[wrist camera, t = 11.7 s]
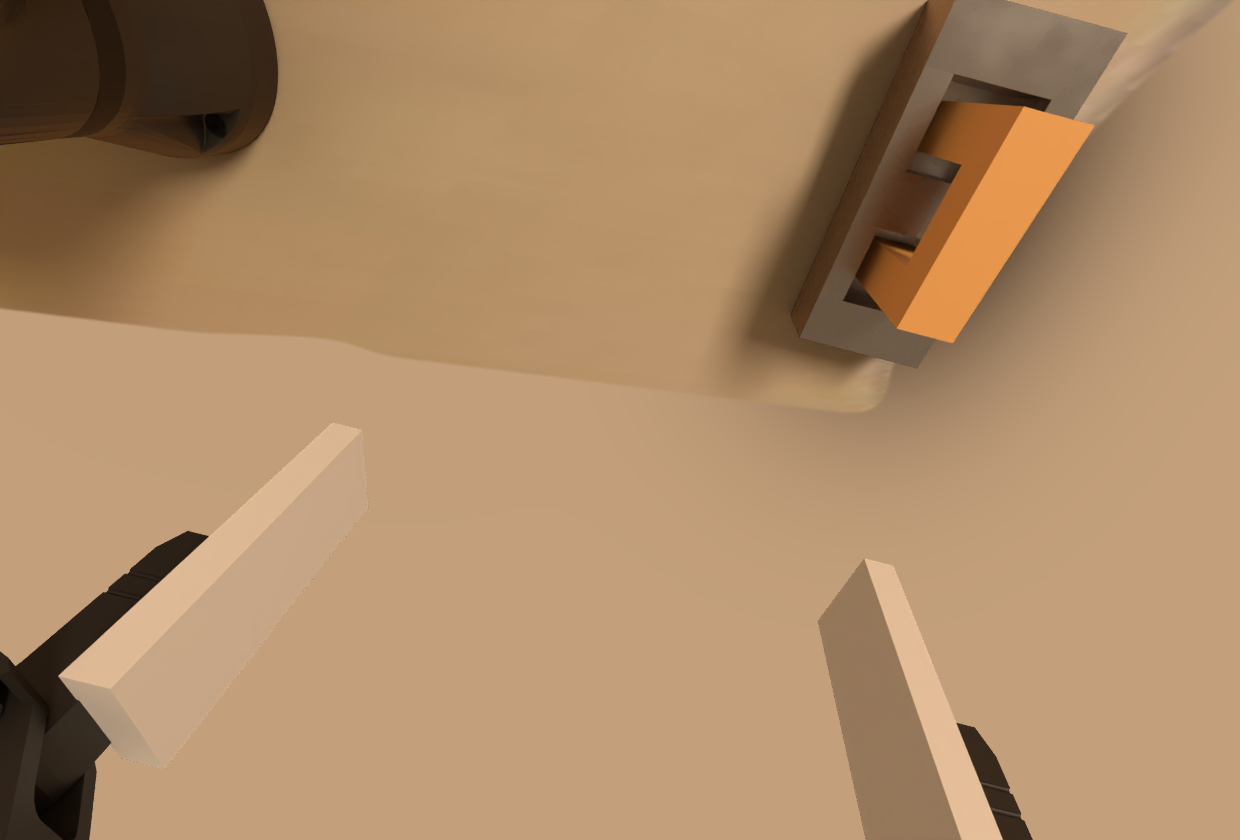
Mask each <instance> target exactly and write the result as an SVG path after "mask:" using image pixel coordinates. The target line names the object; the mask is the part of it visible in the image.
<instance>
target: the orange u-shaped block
mask: <svg viewBox="0 0 1240 840" xmlns="http://www.w3.org/2000/svg"><path fill="white" fill-rule="evenodd" d="M1094 126H1095V125H1091V124H1087V123H1084V122H1080V121H1076V120H1072V119H1069V118H1065V117H1061V116H1057V115H1054V114H1050V113H1046V112H1042V111H1039V110H1035V109H1031V108H1028V107H1024V106H1010V105H996V104H982V103H969V102H955V101H941V102H940V104H939V106H938V108H937V110H936V112H935V114H934V116H933V118H932V120H931V122H930V124H929V126H928V128H927V130H926V132H925V134H924V137H923V139H922V141H921V143H920V145H919V147H918V149H917V151H919V152H922V153H925V154H928V155H932V156H935V157H938V158H941V159H944V160H948V161H951V162H954V163H957V164H960V165H961V167H960V169H959V171H958V173H957V174H956V176H955V178H954V180H953V182H952V184H951V185H950V187H949V189H948V191H947V193H946V195H945V196H944V198H943V200H942V202H941V204H940V206H939V207H938V209H937V211H936V213H935V215H934V217H933V218H932V220H931V222H930V224H929V226H928V228H927V230H926V231H925V233H924V235H923V237H922V239H921V241H920V242H919V244H918V246H917V248H916V247H915V246H911V245H907V244H903V243H900V242H896V241H892V240H888V239H884V238H881V237H877V236H874V238H873V240H872V242H871V244H870V246H869V249H868V251H867V253H866V255H865V257H864V259H863V261H862V263H861V265H860V267H859V269H858V271H857V273H856V275H855V277H856V278H857V280H858V281H859V282H860V283H861V285H862V286H863V287H864V288H865V290H866V291H867V292H868V293H869V295H870V296H871V297H872V298H873V300H874V301H875V302H876V303H877V305H878V306H879V307H880V308H881V310H882V311H883V312H884V313H885V315H886V316H887V317H888V318H889V320H890V321H891V322H892V323H893V325H894V326H895V327H896V328H897V329H900V330H904V331H908V332H912V333H915V334H919V335H923V336H927V337H931V338H935V339H939V340H943V341H946V342H950V343H953V342H954V340H955V339H956V337H957V336H958V334H959V332H960V331H961V330H962V328H963V326H964V325H965V323H966V322H967V320H968V319H969V317H970V316H971V314H972V313H973V311H974V310H975V308H976V307H977V305H978V303H979V302H980V301H981V299H982V297H983V296H984V294H985V293H986V291H987V290H988V288H989V287H990V285H991V284H992V282H993V281H994V279H995V277H996V276H997V274H998V273H999V271H1000V270H1001V268H1002V267H1003V265H1004V264H1005V262H1006V261H1007V259H1008V258H1009V256H1010V255H1011V253H1012V251H1013V250H1014V248H1015V247H1016V245H1017V244H1018V242H1019V241H1020V239H1021V238H1022V236H1023V234H1024V233H1025V231H1026V230H1027V228H1028V227H1029V225H1030V224H1031V222H1032V221H1033V219H1034V218H1035V216H1036V215H1037V213H1038V212H1039V210H1040V209H1041V207H1042V206H1043V204H1044V202H1045V201H1046V199H1047V198H1048V196H1049V195H1050V193H1051V192H1052V190H1053V189H1054V187H1055V186H1056V184H1057V182H1058V181H1059V179H1060V178H1061V176H1062V175H1063V173H1064V172H1065V170H1066V169H1067V167H1068V165H1069V164H1070V163H1071V161H1072V159H1073V158H1074V156H1075V155H1076V153H1077V152H1078V150H1079V149H1080V147H1081V146H1082V144H1083V143H1084V141H1085V140H1086V138H1087V137H1088V135H1089V133H1090V132H1091V130H1092V129H1093V127H1094Z"/></svg>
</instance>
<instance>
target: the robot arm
mask: <svg viewBox="0 0 1240 840" xmlns="http://www.w3.org/2000/svg"><path fill="white" fill-rule="evenodd" d="M277 77H278V69H277V55H276V47H275V41H274V36H273V31H272V27H271V23H270V20H269V16H268V13H267V10H266V7H265V4H264V1H263V0H0V145H4V144H14V143H24V142H33V141H43V140H52V139H60V138H72V137H88V138H93V139H97V140H101V141H105V142H109V143H114V144H118V145H122V146H126V147H131V148H135V149H139V150H143V151H147V152H152V153H156V154H160V155H164V156H169V157H176V158H201V157H208V156H215V155H222V154H227V153H231V152H234V151H237V150H239V149H241V148H243V147H245V146H246V145H248V144H249V143H250V142H252V141H253V140H254V139H255V138H256V137H257V136H258V135H259V134H260V132H261V131H262V130H263V128H264V126H265V125H266V123H267V121H268V119H269V117H270V115H271V112H272V109H273V105H274V101H275V97H276V91H277ZM368 508H369V504H368V493H367V481H366V470H365V458H364V447H363V436H362V430H359V429H355V428H351V427H348V426H343V425H340V424H336V423H331V425H329V426H328V427H327V428H326V429H325V430H324V431H323V432H322V433H321V434H319V435H318V436H317V437H316V438H315V439H314V440H313V441H312V442H311V443H310V444H309V445H308V446H307V447H306V448H304V449H303V450H302V451H301V452H300V453H299V454H298V455H297V456H296V457H295V458H294V459H292V460H291V461H290V462H289V463H288V464H287V465H286V466H285V467H284V468H283V469H282V470H281V471H280V472H279V473H277V474H276V475H275V476H274V477H273V478H272V479H271V480H270V481H269V482H268V483H266V484H265V485H264V486H263V487H262V488H261V489H260V490H259V491H258V492H257V493H256V494H255V495H254V496H252V497H251V498H250V499H249V500H248V501H247V502H246V503H245V504H244V505H243V506H242V507H241V508H239V509H238V510H237V511H236V512H235V513H234V514H233V515H232V516H231V517H230V518H229V519H228V520H227V521H225V522H224V523H223V524H222V525H221V526H220V527H219V528H218V529H217V530H216V531H215V532H214V533H212V534H211V535H210V536H206V535H202V534H198V533H194V532H190V531H187V532H185V533H183V534H181V535H179V536H177V537H175V538H173V539H171V540H169V541H167V542H165V543H163V544H161V545H159V546H157V547H156V548H154V549H153V550H152V551H151V552H150V553H148V554H147V555H146V556H145V557H144V558H143V559H142V560H140V561H139V562H138V563H137V564H136V565H134V566H133V567H132V568H131V569H130V572H129V573H128V574H124V575H123V576H122V577H121V578H120V579H118V580H117V581H116V582H115V583H113V584H112V585H111V586H110V587H109V589H108V591H107V592H105V593H104V592H103V593H102V594H101V595H99V596H98V597H97V598H96V599H95V600H93V601H92V602H91V603H90V604H89V605H88V606H86V607H85V608H84V609H83V610H82V611H81V612H79V613H78V614H77V615H76V616H75V617H74V618H72V619H71V620H70V621H69V622H68V623H66V624H65V625H64V626H63V627H62V628H61V629H59V630H58V631H57V632H56V633H55V634H54V635H52V636H51V637H50V638H49V639H48V640H47V641H45V642H44V643H43V644H42V645H41V646H40V647H38V648H37V649H36V650H35V651H34V652H32V653H31V654H30V655H29V656H28V657H27V658H25V659H24V660H23V661H22V662H21V663H19V664H18V665H17V666H15V665H14V664H13V663H12V662H11V661H10V660H9V658H8V657H7V656H5V655H4V654H3V653H1V652H0V840H89V836H90V828H91V819H92V810H93V800H94V791H95V781H96V773H97V772H96V766H95V760H96V759H97V758H98V757H99V756H100V755H101V754H102V753H103V752H104V750H105V749H106V748H107V747H108V746H109V745H110V744H111V745H112V746H113V748H114V749H115V750H116V752H117V753H118V754H119V756H120V757H121V758H122V759H126V760H130V761H134V762H139V763H143V764H146V765H151V766H155V767H159V768H163V769H165V768H166V767H167V766H168V764H169V763H170V762H171V760H172V759H173V758H174V757H175V755H176V754H177V753H178V752H179V750H180V749H181V748H182V746H183V745H184V744H185V742H186V741H187V740H188V739H189V737H190V736H191V735H192V733H193V732H194V731H195V730H196V728H197V727H198V725H200V723H201V722H202V721H203V719H204V718H205V717H206V716H207V714H208V713H209V712H210V710H211V709H212V708H213V706H214V705H215V704H216V703H217V701H218V700H219V699H220V698H221V696H222V695H223V694H224V693H225V691H226V690H227V689H228V687H229V686H230V685H231V683H232V682H233V681H234V680H235V678H236V677H237V676H238V675H239V673H240V672H241V671H242V669H243V668H244V667H245V665H246V664H247V663H248V662H249V660H250V659H251V658H252V656H253V655H254V654H255V653H256V651H257V650H258V649H259V648H260V646H261V645H262V644H263V642H264V641H265V640H266V639H267V637H268V636H269V635H270V634H271V632H272V631H273V630H274V628H275V627H276V626H277V625H278V623H279V622H280V621H281V619H282V618H283V617H284V616H285V614H286V613H287V612H288V610H289V609H290V608H291V607H292V605H293V604H294V603H295V601H296V600H297V599H298V598H299V596H300V595H301V594H302V592H303V591H304V590H305V589H306V587H307V586H308V585H309V583H310V582H311V581H312V580H313V578H314V577H315V576H316V574H317V573H318V572H319V571H320V569H321V568H322V567H323V566H324V564H325V563H326V562H327V560H328V559H329V558H330V557H331V555H332V554H333V553H334V551H335V550H336V549H337V548H338V546H339V545H340V544H341V542H342V541H343V540H344V538H345V537H346V536H347V535H348V533H349V532H350V531H351V530H352V528H353V527H354V526H355V524H356V523H357V522H358V521H359V519H360V518H361V517H362V515H363V514H364V513H365V511H366V510H367V509H368ZM818 624H819V629H820V634H821V638H822V643H823V647H824V652H825V656H826V661H827V665H828V670H829V675H830V679H831V684H832V688H833V693H834V698H835V702H836V707H837V711H838V716H839V720H840V725H841V729H842V734H843V739H844V743H845V747H846V752H847V757H848V761H849V766H850V771H851V775H852V779H853V784H854V789H855V793H856V798H857V802H858V807H859V811H860V816H861V821H862V825H863V830H864V834H865V839H866V840H1033V839H1032V837H1031V835H1030V833H1029V830H1028V828H1027V826H1026V824H1025V821H1023V820H1022V819H1021V817H1020V816H1021V812H1020V810H1019V808H1018V806H1017V803H1016V801H1015V799H1014V796H1013V794H1010V792H1009V789H1010V787H1009V785H1008V783H1007V780H1006V778H1005V776H1004V774H1003V771H1002V769H1001V767H1000V765H999V762H998V760H997V758H996V756H995V755H994V753H993V752H992V750H991V749H990V748H989V746H988V745H987V744H986V742H985V741H984V740H983V738H982V737H981V735H980V734H979V733H978V731H977V730H976V729H975V727H971V726H967V725H963V724H958V723H956V722H955V719H954V717H953V714H952V711H951V709H950V707H949V704H948V701H947V699H946V696H945V694H944V691H943V689H942V686H941V684H940V681H939V679H938V676H937V674H936V671H935V669H934V667H933V664H932V662H931V659H930V656H929V654H928V652H927V649H926V647H925V644H924V642H923V639H922V636H921V634H920V632H919V629H918V627H917V624H916V622H915V619H914V617H913V614H912V612H911V609H910V607H909V604H908V602H907V599H906V597H905V594H904V592H903V589H902V587H901V584H900V582H899V579H898V577H897V574H896V572H895V569H894V567H893V566H892V565H888V564H884V563H881V562H876V561H873V560H869V559H863V561H862V562H861V563H860V565H859V566H858V568H857V569H856V570H855V572H854V573H853V574H852V576H851V577H850V578H849V580H848V581H847V583H846V584H845V585H844V586H843V588H842V589H841V590H840V592H839V593H838V594H837V596H836V597H835V599H834V600H833V601H832V603H831V604H830V605H829V607H828V608H827V609H826V611H825V612H824V613H823V615H822V616H821V617H820V619H819V620H818Z"/></svg>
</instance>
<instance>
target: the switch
mask: <svg viewBox="0 0 1240 840" xmlns="http://www.w3.org/2000/svg"><path fill="white" fill-rule="evenodd" d="M1127 34H1128V33H1125V32H1121V31H1117V30H1114V29H1110V28H1106V27H1103V26H1099V25H1095V24H1091V23H1088V22H1084V21H1080V20H1077V19H1073V18H1069V17H1066V16H1062V15H1058V14H1055V13H1051V12H1047V11H1043V10H1040V9H1036V8H1032V7H1029V6H1025V5H1021V4H1018V3H1014V2H1010V1H1007V0H928V2H927V4H926V7H925V9H924V11H923V14H922V16H921V18H920V20H919V23H918V25H917V27H916V30H915V32H914V34H913V36H912V39H911V41H910V43H909V46H908V48H907V50H906V53H905V55H904V57H903V59H902V62H901V64H900V66H899V69H898V71H897V73H896V75H895V78H894V80H893V82H892V85H891V87H890V89H889V91H888V94H887V96H886V98H885V101H884V103H883V105H882V107H881V110H880V112H879V114H878V117H877V119H876V121H875V123H874V126H873V128H872V130H871V133H870V135H869V137H868V139H867V142H866V144H865V146H864V149H863V151H862V153H861V155H860V158H859V160H858V162H857V165H856V167H855V169H854V171H853V174H852V176H851V178H850V181H849V183H848V185H847V187H846V190H845V192H844V194H843V197H842V199H841V201H840V203H839V206H838V208H837V210H836V213H835V215H834V217H833V219H832V222H831V224H830V226H829V229H828V231H827V233H826V236H825V238H824V240H823V242H822V245H821V247H820V249H819V252H818V254H817V256H816V258H815V261H814V263H813V265H812V268H811V270H810V272H809V274H808V277H807V279H806V281H805V284H804V286H803V288H802V290H801V293H800V295H799V297H798V300H797V302H796V304H795V306H794V309H793V311H792V313H791V317H792V319H793V322H794V324H795V327H796V330H797V332H798V335H799V337H800V338H802V339H806V340H810V341H814V342H818V343H821V344H825V345H829V346H833V347H837V348H841V349H844V350H848V351H852V352H856V353H860V354H864V355H868V356H871V357H875V358H879V359H883V360H887V361H891V362H894V363H899V364H902V365H906V366H910V367H914V368H918V366H919V365H920V363H921V361H922V360H923V358H924V357H925V355H926V353H927V352H928V350H929V349H930V347H931V345H932V344H933V342H934V341H935V338H931V337H927V336H923V335H919V334H915V333H912V332H908V331H904V330H900V329H897V328H896V327H895V326H894V325H893V323H892V322H891V321H890V320H889V318H888V317H887V316H886V315H885V313H884V312H883V311H882V310H881V308H880V307H879V306H878V305H877V303H876V302H875V301H874V300H873V298H872V297H871V296H870V295H869V293H868V292H867V291H866V290H865V288H864V287H863V286H862V285H861V283H860V282H859V281H858V280H857V278H856V277H855V275H856V273H857V271H858V269H859V267H860V265H861V263H862V261H863V259H864V257H865V255H866V253H867V251H868V249H869V246H870V244H871V242H872V240H873V238H874V236H877V237H881V238H884V239H888V240H892V241H896V242H900V243H903V244H907V245H911V246H915V247H916V248H917V246H918V244H919V242H920V241H921V239H922V237H923V235H924V233H925V231H926V230H927V228H928V226H929V224H930V222H931V220H932V218H933V217H934V215H935V213H936V211H937V209H938V207H939V206H940V204H941V202H942V200H943V198H944V196H945V195H946V193H947V191H948V189H949V187H950V185H951V184H952V182H953V180H954V178H955V176H956V174H957V173H958V171H959V169H960V167H961V165H960V164H957V163H954V162H951V161H948V160H944V159H941V158H938V157H935V156H932V155H928V154H925V153H922V152H919V151H917V149H918V147H919V145H920V143H921V141H922V139H923V137H924V134H925V132H926V130H927V128H928V126H929V124H930V122H931V120H932V118H933V116H934V114H935V112H936V110H937V108H938V106H939V104H940V102H941V101H955V102H969V103H982V104H996V105H1010V106H1024V107H1028V108H1031V109H1035V110H1039V111H1042V112H1046V113H1050V114H1054V115H1057V116H1061V117H1065V118H1069V119H1072V120H1073V119H1074V118H1075V116H1076V115H1077V113H1078V112H1079V110H1080V108H1081V107H1082V105H1083V104H1084V102H1085V100H1086V99H1087V97H1088V96H1089V94H1090V92H1091V91H1092V89H1093V88H1094V86H1095V84H1096V83H1097V81H1098V80H1099V78H1100V77H1101V75H1102V73H1103V72H1104V70H1105V69H1106V67H1107V65H1108V64H1109V62H1110V61H1111V59H1112V57H1113V56H1114V54H1115V53H1116V51H1117V49H1118V48H1119V46H1120V45H1121V43H1122V41H1123V40H1124V38H1125V37H1126V35H1127Z"/></svg>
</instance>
